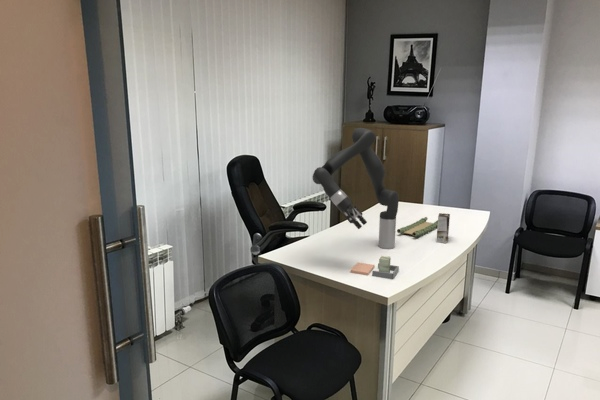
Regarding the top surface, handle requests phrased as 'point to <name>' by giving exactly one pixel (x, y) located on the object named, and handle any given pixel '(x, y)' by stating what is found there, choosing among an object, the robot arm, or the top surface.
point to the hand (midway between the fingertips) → (363, 225)
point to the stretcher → (419, 228)
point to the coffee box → (443, 228)
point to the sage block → (384, 264)
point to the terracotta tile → (362, 268)
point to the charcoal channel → (387, 275)
